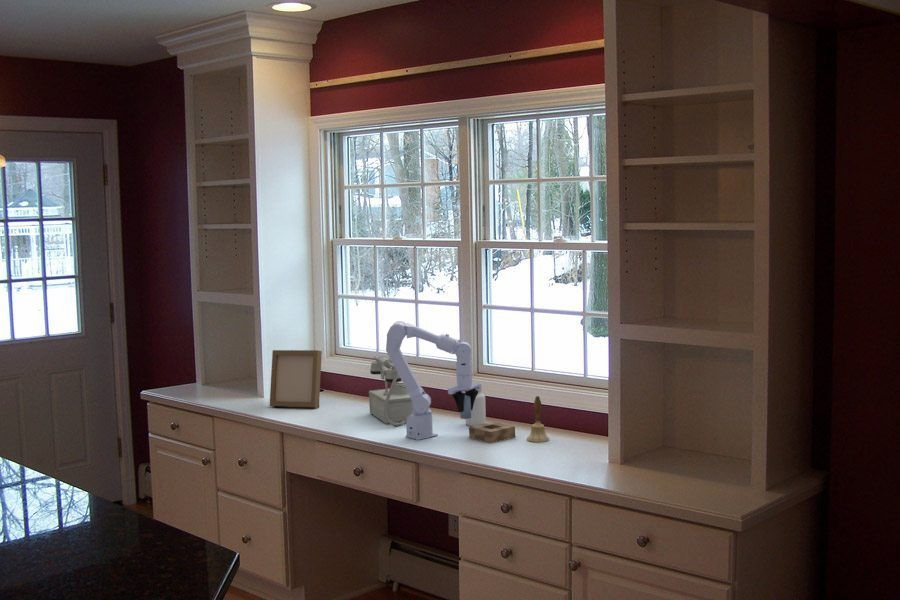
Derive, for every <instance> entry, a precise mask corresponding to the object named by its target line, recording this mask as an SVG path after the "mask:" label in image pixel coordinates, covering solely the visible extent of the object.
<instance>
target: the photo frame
mask: <svg viewBox="0 0 900 600" xmlns="http://www.w3.org/2000/svg"><path fill="white" fill-rule="evenodd" d="M322 352H323V351H321V350H316V349H314V350H313V349H312V350H311V349H309V350H307V349H305V350H303V349H301V350H299V349H298V350H297V349H290V350H288V349H286V350H285V349H283V350H282V349H279V350H278V349H277V350H276V349H272V354H271V355H272V356H271V357H272V358H271V374H270V376H271V377H270V388H269V389H270V390H269V407H275V406H287V407H289V408H319V407H320V395H321V394H320V393H321V374H322V372H321V371H322V355H323V353H322ZM318 406H319V407H318ZM287 407H286V408H287Z"/></svg>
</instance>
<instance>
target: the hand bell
mask: <svg viewBox="0 0 900 600" xmlns="http://www.w3.org/2000/svg"><path fill="white" fill-rule="evenodd" d="M533 409H534V412H535V423H533V424H532V425H531V430H530V434H529V435H528V436H527V438H526V441H527V440H528V442H530V441H531V443H545V442H544V441H546V442H549V441H550V440H549V439H550V437H549V436H548V435H547V433H546V429H545V425H544V424H542V423H541V410H542V401H541V399H540V396H538V395H536V396H535V399H534V402H533ZM548 440H549V441H548Z"/></svg>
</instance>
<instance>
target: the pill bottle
mask: <svg viewBox="0 0 900 600" xmlns="http://www.w3.org/2000/svg"><path fill="white" fill-rule="evenodd" d="M482 388H483V387H482V386H481V389H476V390H477V391H478V394H477V396H476V398H475V401H474V405H473V410H471V418H469V419H465V424H466V425H467V426H469V427H472V426H476V425H480V424H485V423H487V421H486V420H487V418H486V417H487V416H486V415H487V413H486V409H487V408H486V395H485V394H484V393H483V392H482V391H483V389H482Z"/></svg>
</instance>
